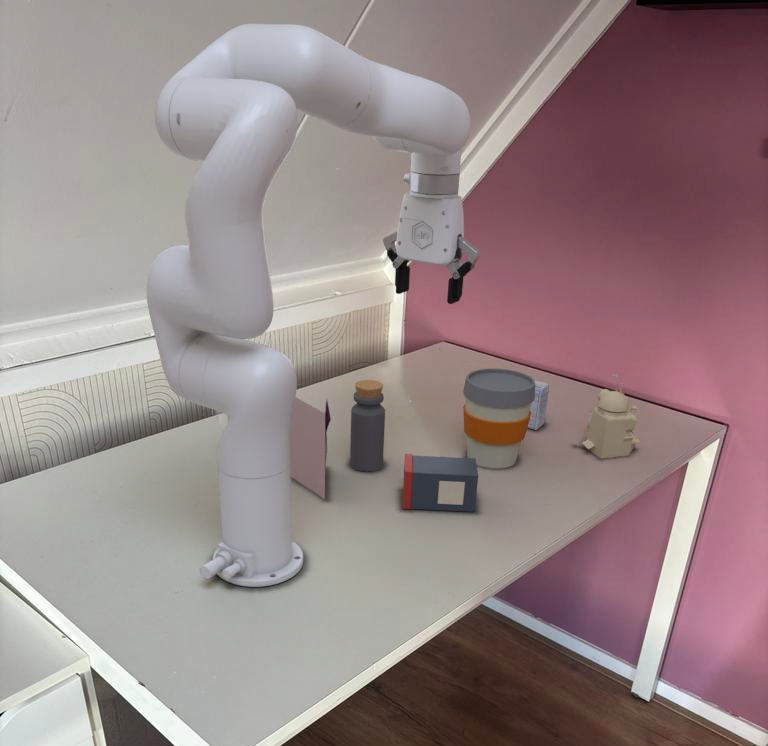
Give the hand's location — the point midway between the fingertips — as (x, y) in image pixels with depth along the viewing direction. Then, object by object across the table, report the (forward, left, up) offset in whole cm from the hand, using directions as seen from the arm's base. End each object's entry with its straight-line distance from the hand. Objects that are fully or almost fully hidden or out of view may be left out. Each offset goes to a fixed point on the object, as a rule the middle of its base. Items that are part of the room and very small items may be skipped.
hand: (427, 297), depth 131 cm
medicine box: (+27, -9, -29) cm, 41 cm away
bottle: (-8, +6, -29) cm, 31 cm away
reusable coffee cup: (+8, -11, -29) cm, 33 cm away
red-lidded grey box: (-12, -11, -29) cm, 33 cm away
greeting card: (-20, +10, -29) cm, 37 cm away
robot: (+25, -27, -29) cm, 47 cm away
